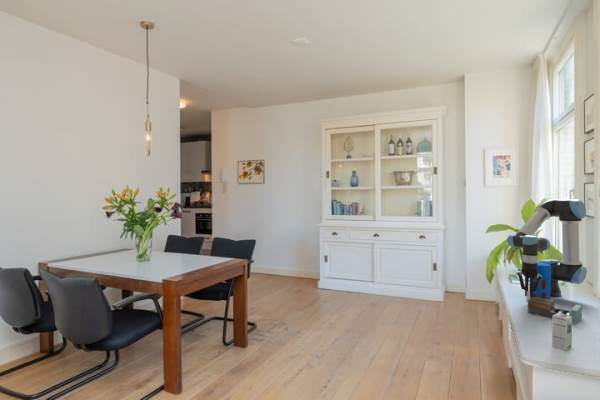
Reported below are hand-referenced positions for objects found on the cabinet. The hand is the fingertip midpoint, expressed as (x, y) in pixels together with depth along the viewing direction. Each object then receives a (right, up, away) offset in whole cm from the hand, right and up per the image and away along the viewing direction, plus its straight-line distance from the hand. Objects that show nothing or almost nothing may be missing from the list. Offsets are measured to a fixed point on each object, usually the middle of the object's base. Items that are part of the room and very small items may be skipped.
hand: (528, 302), depth 214 cm
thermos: (+13, -5, +11) cm, 18 cm away
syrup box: (-17, -7, -50) cm, 53 cm away
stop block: (+15, -5, -16) cm, 23 cm away
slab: (+4, -2, -4) cm, 6 cm away
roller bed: (+8, -5, -8) cm, 12 cm away
